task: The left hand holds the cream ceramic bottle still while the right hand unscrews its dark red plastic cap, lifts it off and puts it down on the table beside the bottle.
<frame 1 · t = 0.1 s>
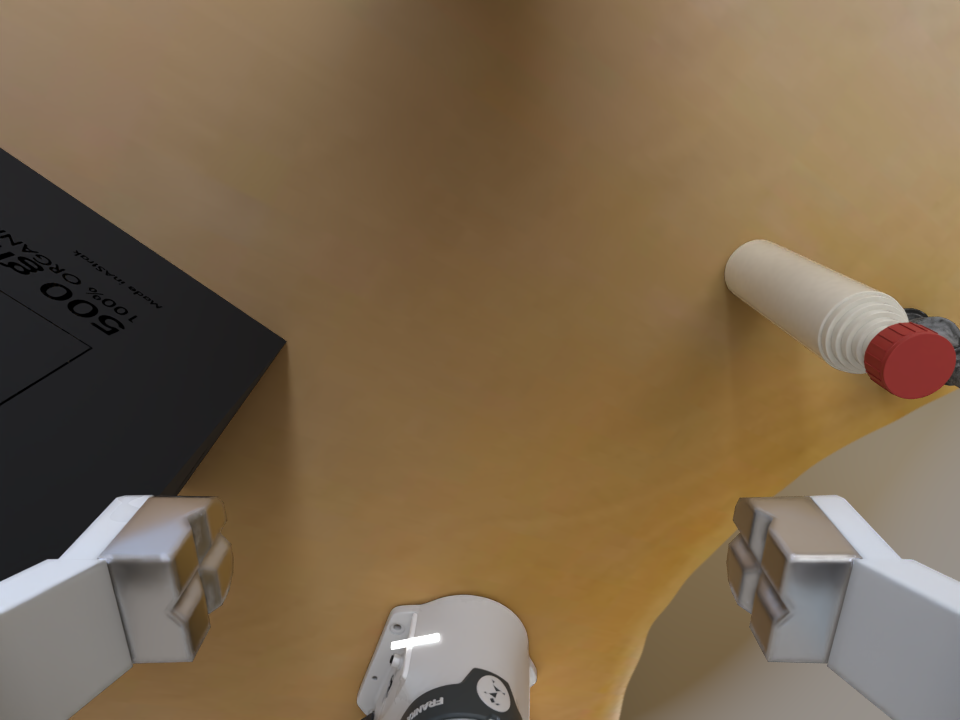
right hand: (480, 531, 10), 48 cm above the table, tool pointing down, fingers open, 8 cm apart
grey stepped cylinder: (900, 335, 60), on the table
black tall box: (51, 303, 59), on the table
cap: (916, 365, 36), point 23 cm above the table, screwed on, not yet turned
bottle: (755, 270, 58), on the table
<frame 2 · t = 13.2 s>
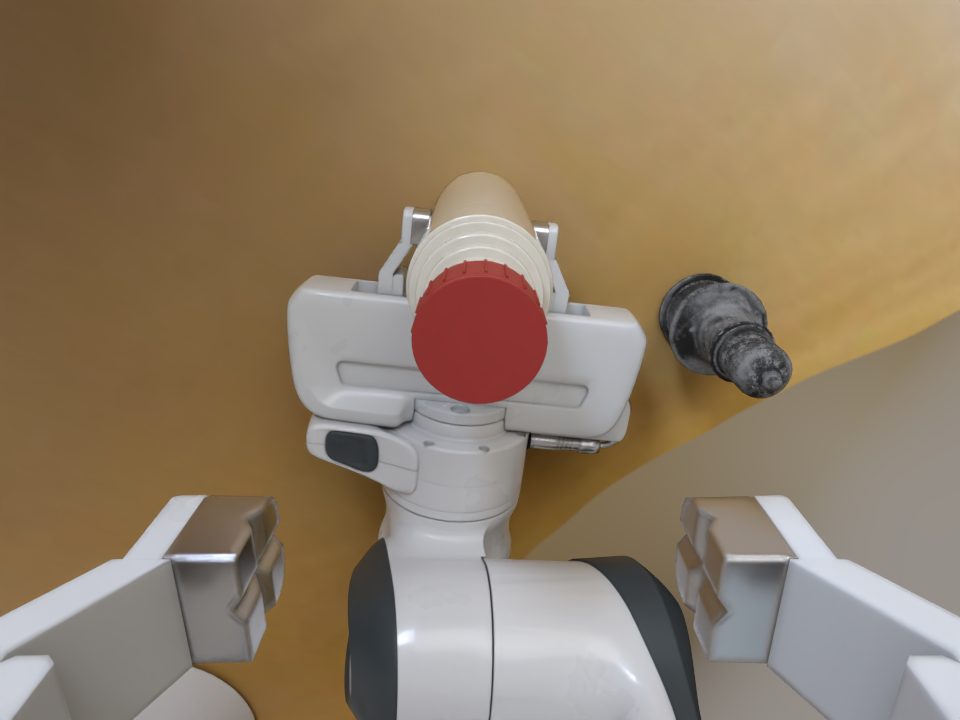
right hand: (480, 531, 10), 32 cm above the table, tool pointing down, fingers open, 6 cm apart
left hand: (480, 215, 35), fingers closed on bottle, 5 cm apart
grey stepped cylinder: (698, 312, 42), on the table
cap: (479, 339, 19), point 23 cm above the table, screwed on, not yet turned
bottle: (479, 217, 40), on the table, touching left hand
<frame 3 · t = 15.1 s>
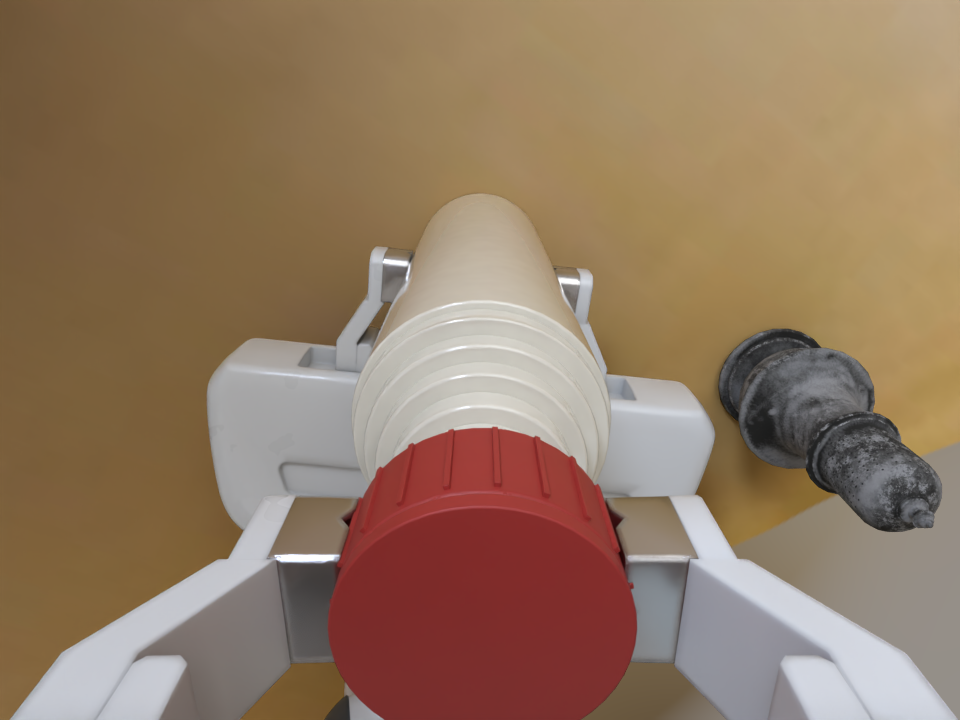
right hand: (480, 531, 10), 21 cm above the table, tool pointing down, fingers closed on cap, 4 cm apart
grey stepped cylinder: (770, 377, 32), on the table
cap: (482, 620, 9), point 23 cm above the table, screwed on, not yet turned, touching right hand
bottle: (480, 255, 30), on the table, touching left hand
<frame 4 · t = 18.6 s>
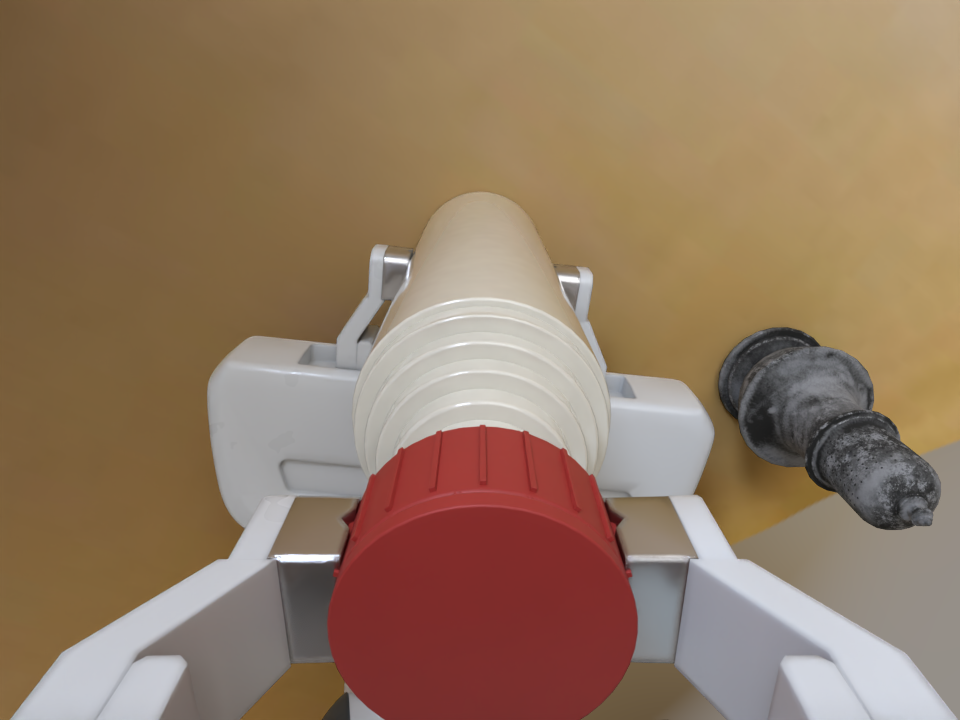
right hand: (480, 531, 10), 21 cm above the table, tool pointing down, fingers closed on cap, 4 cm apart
grey stepped cylinder: (770, 376, 32), on the table
cap: (482, 619, 8), point 23 cm above the table, turned 95° so far, risen 0.1 cm, still on its thread, touching right hand
bottle: (480, 253, 30), on the table, touching left hand
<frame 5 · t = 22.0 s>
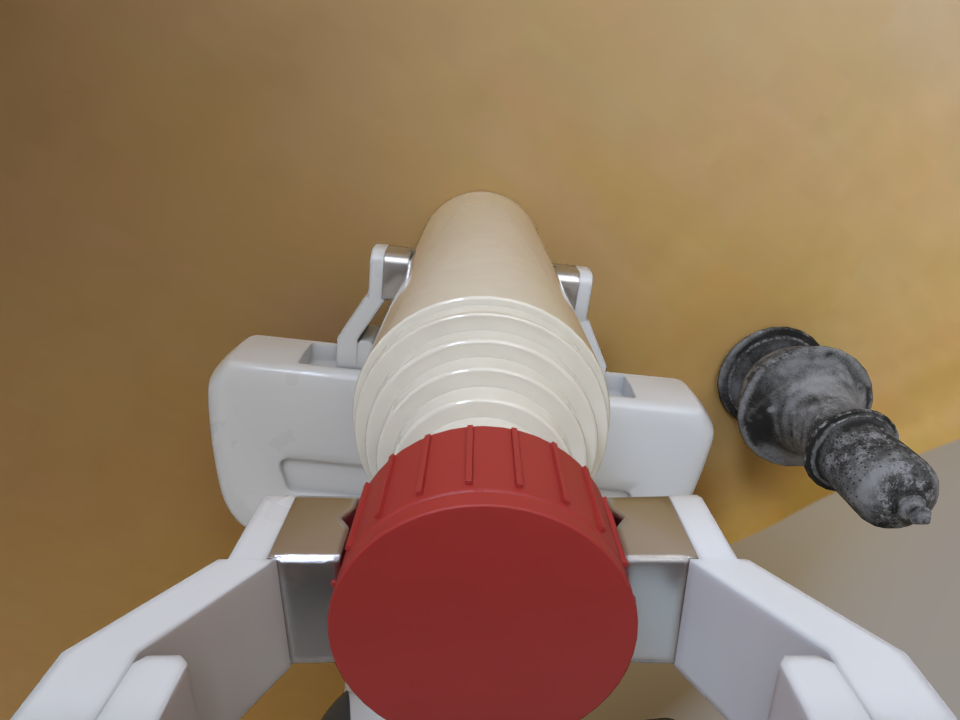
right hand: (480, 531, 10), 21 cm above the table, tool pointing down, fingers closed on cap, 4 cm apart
grey stepped cylinder: (769, 375, 32), on the table
cap: (482, 619, 8), point 23 cm above the table, turned 190° so far, risen 0.2 cm, still on its thread, touching right hand
bottle: (480, 252, 30), on the table, touching left hand
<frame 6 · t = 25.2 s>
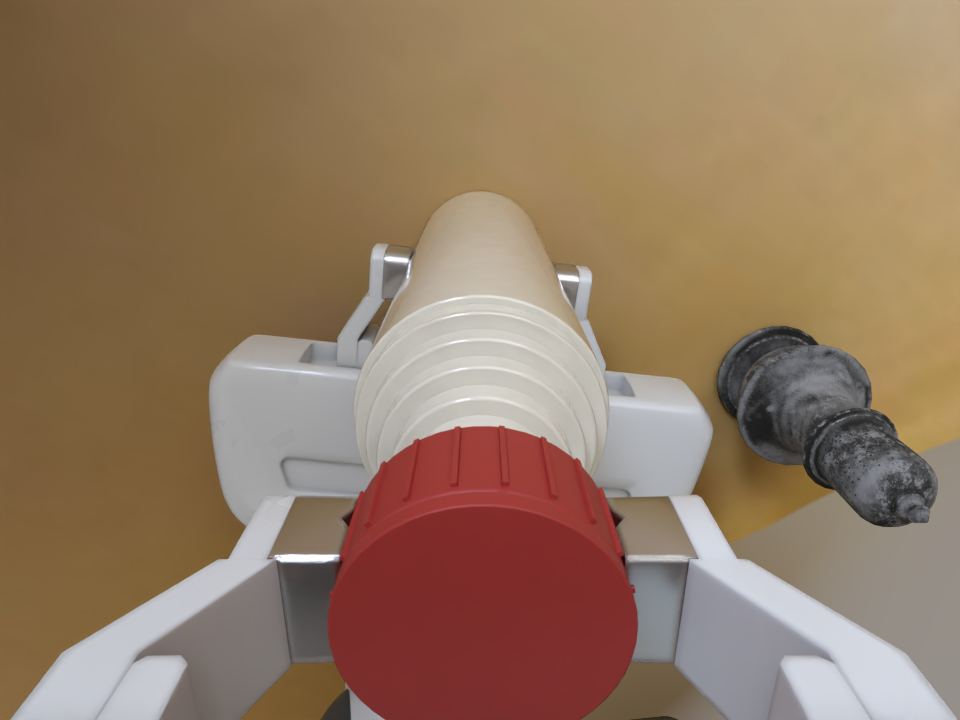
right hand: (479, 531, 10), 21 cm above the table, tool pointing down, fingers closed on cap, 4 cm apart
grey stepped cylinder: (769, 375, 32), on the table
cap: (482, 619, 8), point 23 cm above the table, turned 285° so far, risen 0.2 cm, still on its thread, touching right hand
bottle: (480, 252, 30), on the table, touching left hand
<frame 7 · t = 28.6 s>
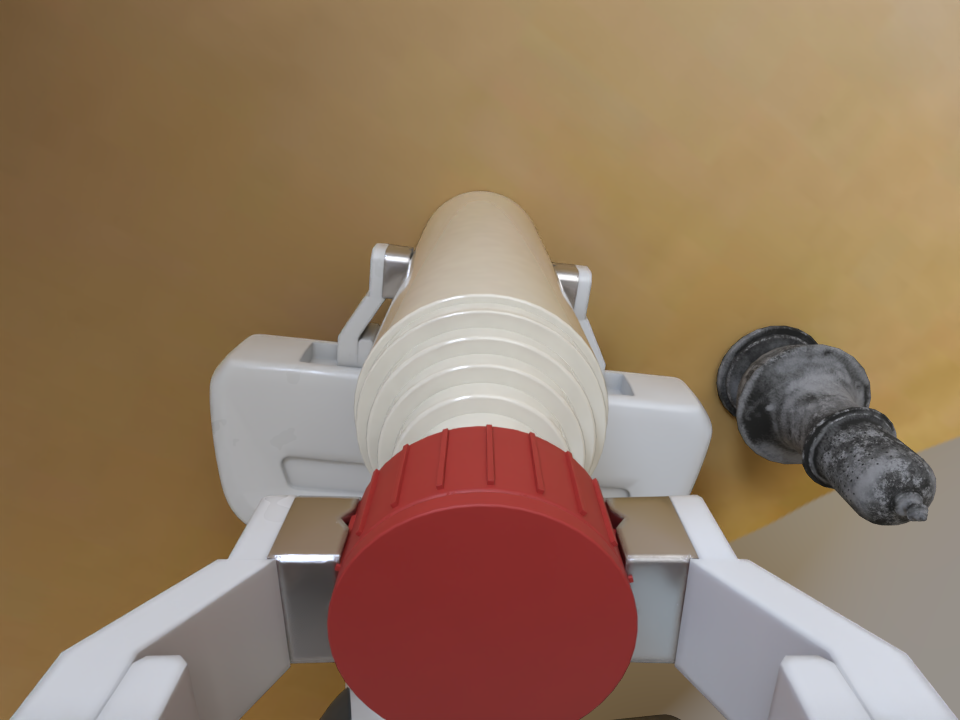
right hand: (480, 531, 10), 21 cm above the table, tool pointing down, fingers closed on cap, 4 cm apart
grey stepped cylinder: (768, 374, 32), on the table
cap: (482, 619, 8), point 23 cm above the table, turned 380° so far, risen 0.3 cm, still on its thread, touching right hand
bottle: (480, 252, 30), on the table, touching left hand
when the right hand's fingers open (2 cm above the table, at t = 35.4 s): cap drops 2 cm, point 2 cm above the table.
when the left hand's fingers open (5 cm above the table, at t = 36.7 s): bottle stays where it is, on the table.
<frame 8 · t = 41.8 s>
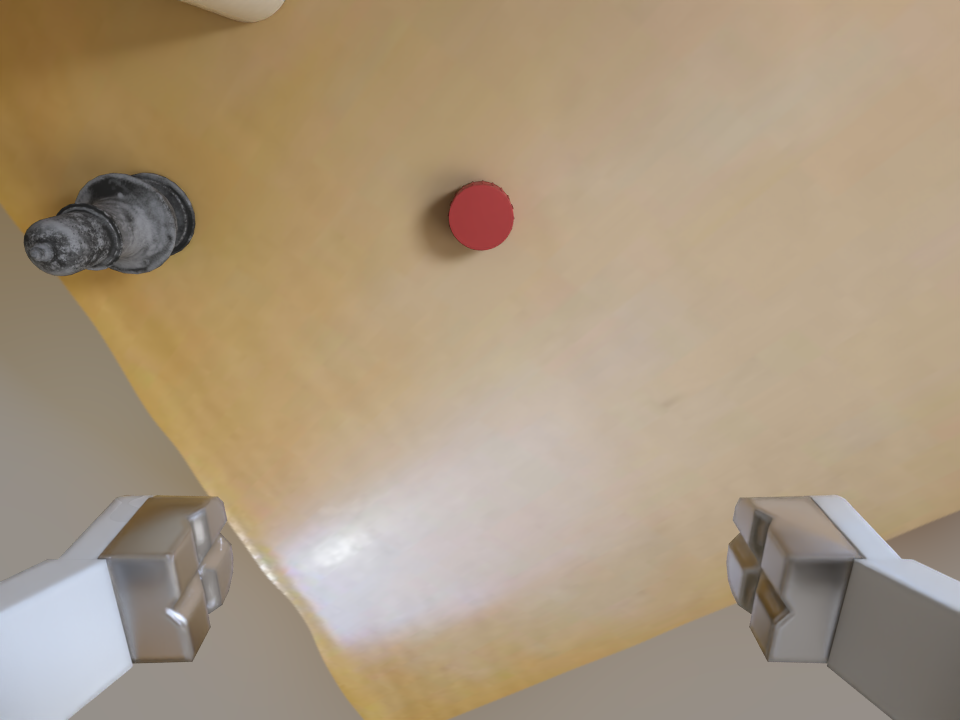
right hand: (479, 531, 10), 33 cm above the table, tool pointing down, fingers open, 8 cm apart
grey stepped cylinder: (154, 215, 41), on the table
cap: (481, 217, 40), point 2 cm above the table, off its thread
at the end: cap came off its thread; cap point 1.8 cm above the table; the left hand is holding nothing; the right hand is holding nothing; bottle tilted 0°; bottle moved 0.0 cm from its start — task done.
